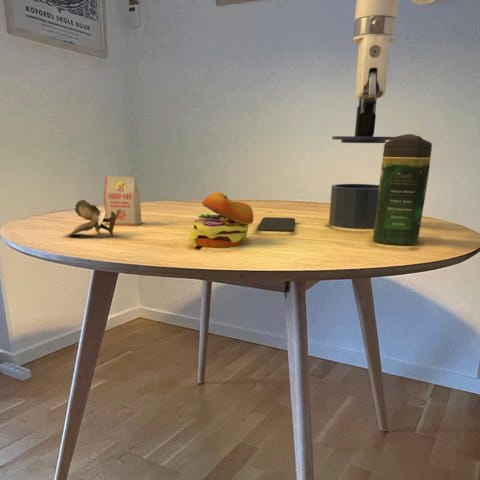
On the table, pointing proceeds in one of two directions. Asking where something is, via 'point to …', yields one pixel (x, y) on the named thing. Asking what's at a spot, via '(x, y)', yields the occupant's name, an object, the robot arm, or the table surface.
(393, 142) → the coffee jar
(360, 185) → the pot
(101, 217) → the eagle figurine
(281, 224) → the phone
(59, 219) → the table surface
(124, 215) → the paper takeout bag
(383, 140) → the lid
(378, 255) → the table surface
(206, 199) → the cheeseburger
